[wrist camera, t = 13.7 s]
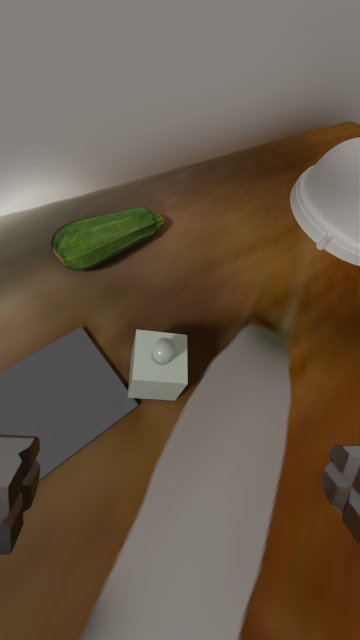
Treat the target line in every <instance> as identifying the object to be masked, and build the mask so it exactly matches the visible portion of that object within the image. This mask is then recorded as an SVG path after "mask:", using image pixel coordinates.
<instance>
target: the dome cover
mask: <svg viewBox="0 0 360 640" xmlns="http://www.w3.org/2000/svg"><path fill="white" fill-rule="evenodd" d="M290 204H291V208H292V212H293V214H294V216H295V218H296V220H297V222H298V223H299V225H300V226H301V228H302V229H303V230H304V231H305V232H306V234H307V235H308V236H309V237H310V238H311V239H312V240H313V241H315V242H316V243H317V245H316V247H317V248H318V249H319V250H323V249H325V250H326V251H328V252H329V253H331V254H333V255H334V256H336V257H338V258H340V259H342V260H344V261H347V262H349V263H352V264H354V265H358V266H360V137H359V138H354V139H350V140H347V141H345V142H342V143H340V144H339V145H337V146H335V147H334V148H332V149H331V150H330V151H328V152H327V153H326V154H325V155H324V156H323V157H322V158H321V159H320V160H319V161H318V162H317V163H316V164H315V165H313V166H311V167H310V168H308V169H307V170H306V171H305V172H303V173H302V174H301V176H300V177H299V179H298V180H297V182H296V183H295V184H294V186H293V188H292V190H291V194H290Z"/></svg>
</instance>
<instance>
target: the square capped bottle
mask: <svg viewBox="0 0 360 640" xmlns="http://www.w3.org/2000/svg"><path fill="white" fill-rule="evenodd" d="M187 384H188V370H187V335H182V334H173V333H163V332H154V331H145V330H136V335H135V339H134V344H133V349H132V355H131V365H130V376H129V387H128V398H144V399H159V400H176V398H177V397H178V396H179V395H180V393H181V392H182V391H183V389H184V388H185V387H186V385H187Z"/></svg>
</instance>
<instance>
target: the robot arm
mask: <svg viewBox="0 0 360 640" xmlns="http://www.w3.org/2000/svg"><path fill="white" fill-rule="evenodd" d="M39 451H40V440H39V438H38V437H37V436H23V435H4V434H0V555H11V554H12V551H13V549H14V547H15V544H16V542H17V540H18V537H19V535H20V532H21V530H22V528H23V525H24V512H25V511H27V510H28V509H29V508H30V507H31V506H32V503H33V501H34V498H35V496H36V492H37V488H38V484H39V478H40V464H39V463H38V461H37V460H36V457H37V455H38V453H39ZM329 458H330V461H331V463H330V464H329V465H328V466H327V467H326V468H325V469H324V472H323V476H322V484H323V490H324V492H325V495H326V497H327V499H328V500H329V502H330V503H331V505H332V506H333V507H335V508H336V509H338V510H339V511H340V512H342V521H343V523H344V524H345V525H346V527H347V528H348V530H349V531H350V533H351V534H352V536H353V537H354V539H355V540H356V542H357V543H358V544H359V545H360V445H334V446H333V447H332V448H331V450H330V453H329Z"/></svg>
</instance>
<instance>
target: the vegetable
mask: <svg viewBox="0 0 360 640" xmlns="http://www.w3.org/2000/svg"><path fill="white" fill-rule="evenodd" d="M163 221H164V218H162V216H161V214H157V213H154V212H152V211H150V210H148V209H147V208H145V207H137V208H130V209H126V210H122V211H118V212H113V213H109V214H105V215H100V216H94V217H89V218H84V219H80V220H76V221H73V222H70V223H68V224H66V225H64V226H62V227H61V228H59V229H58V230H57V231H56V232H55V233H54V235H53V237H52V243H51V245H52V249H53V252H54V254H55V255H56V257H57V258H58V259H59V261H60V262H61V263H62V264H63V265H64V266H66V267H67V268H70V269H73V270H75V271H83V270H88V269H91V268H93V267H95V266H97V265H99V264H101V263H103V262H104V261H106V260H108V259H110V258H112V257H114V256H116V255H118V254H119V253H121V252H123V251H125V250H127V249H128V248H130V247H132V246H133V245H135V244H137V243H140V242H142V241H145V240H147V239H149V238H150V237H151V236H152V235H153V233H154V232H155V231H157V230H158V229H159V228H161V226H162V224H163V223H164V222H163Z"/></svg>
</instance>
